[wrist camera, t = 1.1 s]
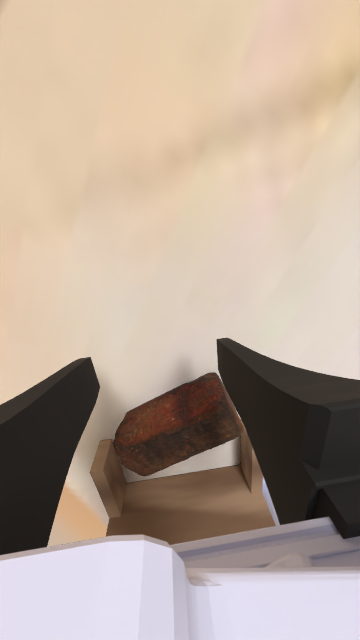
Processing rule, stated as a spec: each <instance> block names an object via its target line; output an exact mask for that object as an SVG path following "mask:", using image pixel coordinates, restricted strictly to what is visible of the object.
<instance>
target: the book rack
mask: <svg viewBox="0 0 360 640" xmlns="http://www.w3.org/2000/svg"><path fill="white" fill-rule="evenodd" d="M240 420H241V419H240ZM241 422H242V420H241ZM242 425H243V427H244V424H243V422H242ZM90 474H91V476H92V478H93V481H94V483H95V485H96V488H97V490H98V492H99V495H100V497H101V499H102V502H103V504H104V506H105V509H106V511H107V513H108V516H109V518H110V519H109V524H108V528H107V533H106V537H107V536H115V535H146V536H149V537H152V538H156V539H159V540H162V541H166V542H167V543H168V544H169V545H173V544H179V543H184V542H190V541H195V540H201V539H206V538H212V537H218V536H223V535H229V534H234V533H240V532H245V531H251V530H256V529H262V528H267V527H273V526H276V525H275V522H274V520H273V517H272V515H271V512H270V510H269V508H268V505H267V503H266V500H265V498H264V495H263V493H262V488H263V474H262V471H261V469H260V466H259V463H258V461H257V458H256V455H255V453H254V450H253V447H252V445H251V442H250V439H249V437H248V434H247V432H246V429H245V427H244V432H243V433H242V434H241V465H236V466H230V467H223V468H217V469H211V470H205V471H199V472H193V473H187V474H181V475H175V476H169V477H163V478H157V479H151V480H145V481H138V482H132V483H126V481H125V478H124V475H123V472H122V469H121V466H120V463H119V460H118V457H117V455H116V453H115V450H114V445H113V442H112V439H111V440H105V441H100V443H99V446H98V449H97V452H96V455H95V458H94V461H93V464H92V467H91V470H90Z"/></svg>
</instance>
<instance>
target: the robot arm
mask: <svg viewBox="0 0 360 640" xmlns="http://www.w3.org/2000/svg"><path fill="white" fill-rule="evenodd" d="M217 355H218V370H219V373H220V376H221V379H222V382H223V384H224V386H225V388H226V390H227V392H228V394H229V396H230V398H231V400H232V402H233V404H234V406H235V408H236V410H237V412H238V414H239V416H240V418H241V420H242V422H243V424H244V427H245V429H246V432H247V434H248V437H249V439H250V442H251V445H252V447H253V450H254V453H255V455H256V458H257V461H258V463H259V466H260V469H261V471H262V474H263V488H262V493H263V495H264V498H265V500H266V503H267V505H268V508H269V510H270V512H271V515H272V517H273V520H274V522H275V525H276V526H273V527H267V528H262V529H256V530H251V531H245V532H240V533H234V534H229V535H223V536H218V537H212V538H206V539H201V540H195V541H190V542H184V543H179V544H173V545H169V544H168V543H167V542H166V541H162V540H159V539H156V538H152V537H149V536H146V535H115V536H107V537H101V538H96V539H90V540H84V541H78V542H73V543H68V544H61V545H56V546H50V547H47V545H48V540H49V536H50V532H51V529H52V525H53V522H54V518H55V514H56V510H57V507H58V503H59V500H60V496H61V493H62V490H63V486H64V483H65V480H66V476H67V473H68V470H69V467H70V464H71V461H72V458H73V455H74V452H75V450H76V447H77V445H78V442H79V440H80V438H81V436H82V433H83V431H84V429H85V427H86V424H87V422H88V420H89V418H90V415H91V413H92V411H93V408H94V406H95V403H96V400H97V397H98V393H99V389H100V385H99V382H98V379H97V376H96V373H95V370H94V366H93V363H92V360H91V357H87V358H80V359H78V360H76V361H74V362H72V363H70V364H69V365H67V366H65V367H64V368H62V369H61V370H59V371H57V372H56V373H54V374H53V375H51V376H50V377H48V378H46V379H45V380H43V381H42V382H40V383H38V384H37V385H35V386H33V387H32V388H30V389H28V390H27V391H25V392H23V393H22V394H20V395H18V396H16V397H14V398H13V399H11V400H9V401H7V402H5V403H3V404H1V405H0V640H360V380H355V379H348V378H342V377H337V376H331V375H326V374H322V373H317V372H313V371H309V370H305V369H301V368H298V367H294V366H291V365H288V364H285V363H282V362H279V361H276V360H274V359H271V358H269V357H266V356H264V355H262V354H259V353H257V352H255V351H253V350H251V349H249V348H247V347H245V346H243V345H241V344H239V343H237V342H235V341H233V340H231V339H229V338H222V339H217Z"/></svg>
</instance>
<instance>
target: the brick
mask: <svg viewBox="0 0 360 640" xmlns="http://www.w3.org/2000/svg"><path fill="white" fill-rule="evenodd" d="M243 432H244V427H243V425H242V422H241V420H240V418H239V416H238V414H237V412H236V409H235V407H234V405H233V403H232V400H231V398H230V396H229V394H228V392H227V390H226V389H225V387H224V385H223V383H222V382H221V380H220V378H219V376H218V375H217V374H216V373H207V374H206V375H204V376H201V377H199V378H198V379H196V380H194V381H191V382H189V383H185V384H183V385H181V386H179V387H177V388H175V389H173V390H171V391H169V392H166V393H165V394H163V395H161V396H159V397H156V398H154V399H152V400H150V401H148V402H146V403H144V404H142V405H140V406H139V407H137V408H135V409H132V410H130V411H128V412H127V413H126V415H125V417H124V419H123V421H122V422H121V424H120V426H119V427H118V429H117V431H116V434H115V439H114V442H113V445H114V450H115V453H116V455H117V456H119V460H120V462H121V464H122V465H123V466H124V467H126V468H127V469H130V470H132V471H134V472H136V473H138V475H141V476H148V475H151V474H153V473H155V472H158V471H160V470H163V469H165V468H167V467H169V466H171V465H173V464H176V463H178V462H181V461H184V460H186V459H188V458H189V457H191V456H194V455H196V454H199V453H201V452H204V451H206V450H208V449H212V448H214V447H217V446H219V445H222V444H224V443H226V442H228V441H230V440H233V439H235V438H236V437H238V436H240V435H241V434H242V433H243Z"/></svg>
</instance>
